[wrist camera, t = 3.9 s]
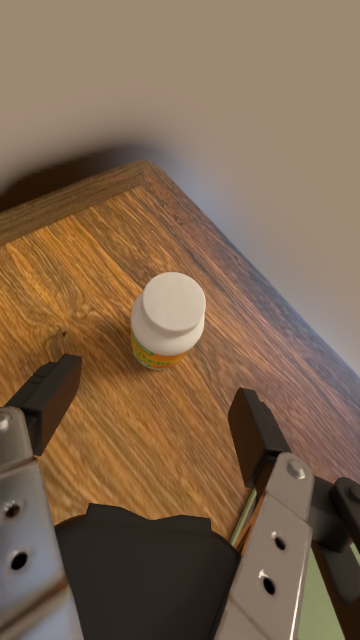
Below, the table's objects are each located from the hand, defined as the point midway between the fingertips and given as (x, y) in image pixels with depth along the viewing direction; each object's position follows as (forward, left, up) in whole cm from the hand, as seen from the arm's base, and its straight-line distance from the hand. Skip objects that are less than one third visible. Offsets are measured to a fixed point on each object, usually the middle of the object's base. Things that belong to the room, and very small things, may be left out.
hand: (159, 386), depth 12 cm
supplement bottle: (-5, -2, -10) cm, 12 cm away
